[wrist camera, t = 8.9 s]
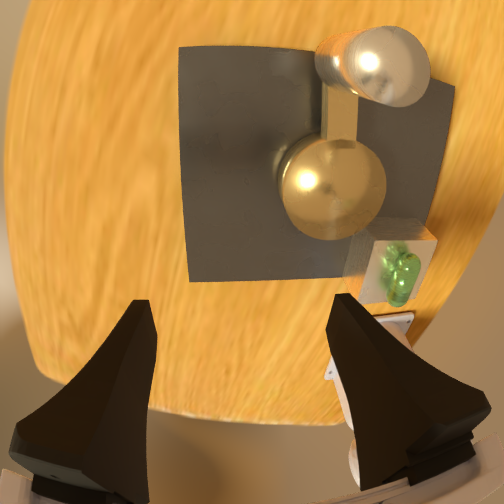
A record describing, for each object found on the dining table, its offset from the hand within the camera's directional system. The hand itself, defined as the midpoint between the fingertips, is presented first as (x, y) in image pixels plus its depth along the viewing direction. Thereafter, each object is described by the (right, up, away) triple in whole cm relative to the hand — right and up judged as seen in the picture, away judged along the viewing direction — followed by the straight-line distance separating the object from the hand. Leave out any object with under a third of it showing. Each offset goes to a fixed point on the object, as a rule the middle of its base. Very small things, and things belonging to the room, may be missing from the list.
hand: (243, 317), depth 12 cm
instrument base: (+5, +8, +7) cm, 12 cm away
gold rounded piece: (+5, +9, +5) cm, 11 cm away
